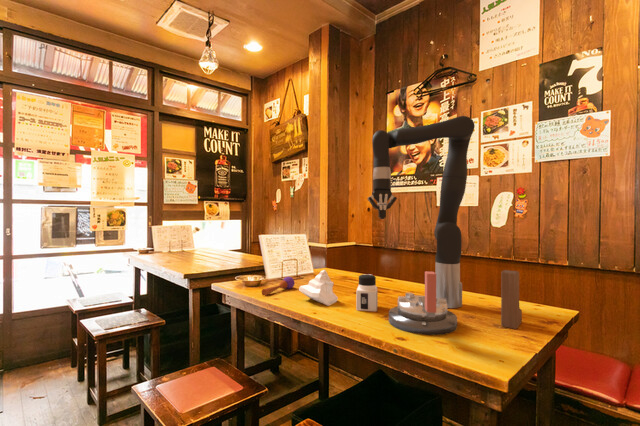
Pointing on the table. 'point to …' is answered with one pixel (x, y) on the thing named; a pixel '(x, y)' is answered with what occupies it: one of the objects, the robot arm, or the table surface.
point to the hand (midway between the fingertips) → (382, 218)
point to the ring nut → (423, 303)
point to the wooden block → (510, 299)
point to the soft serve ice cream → (320, 289)
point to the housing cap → (423, 324)
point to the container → (366, 293)
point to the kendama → (280, 286)
